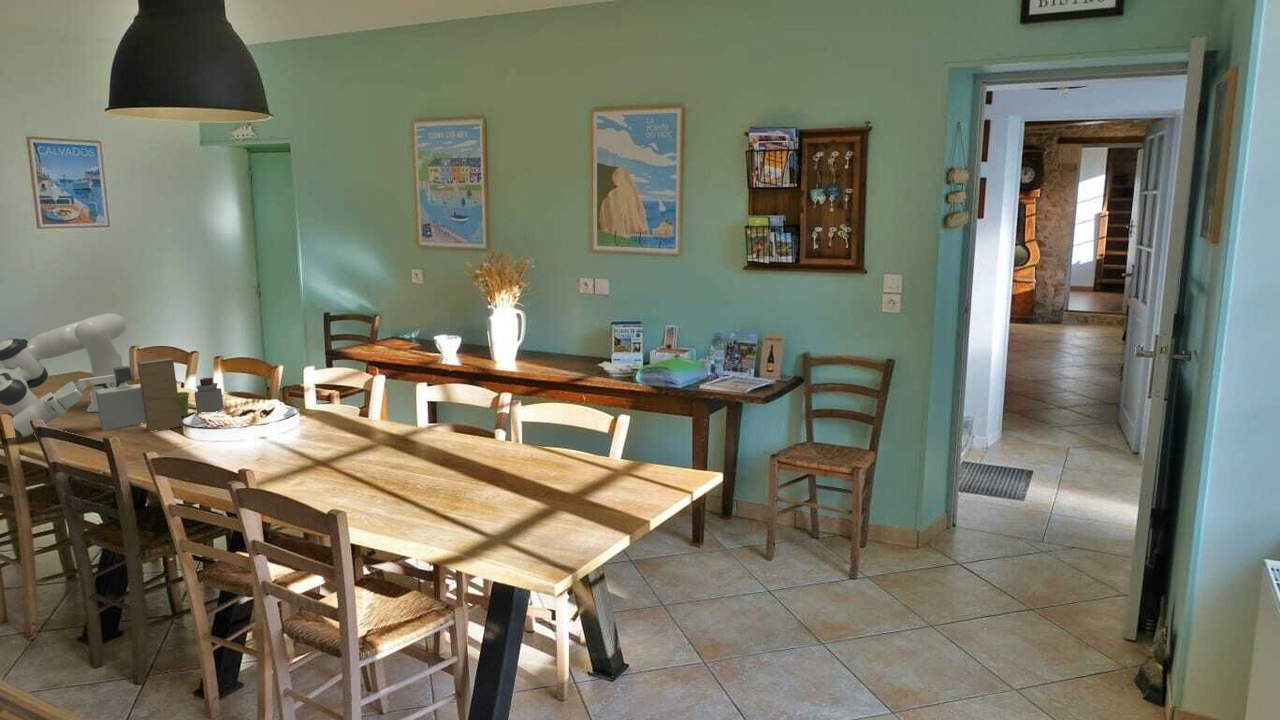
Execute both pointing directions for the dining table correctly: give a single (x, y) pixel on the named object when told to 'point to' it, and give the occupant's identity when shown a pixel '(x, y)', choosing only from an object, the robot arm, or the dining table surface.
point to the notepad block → (120, 406)
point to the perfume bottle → (208, 396)
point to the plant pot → (183, 402)
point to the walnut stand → (159, 393)
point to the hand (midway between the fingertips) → (89, 380)
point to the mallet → (111, 376)
